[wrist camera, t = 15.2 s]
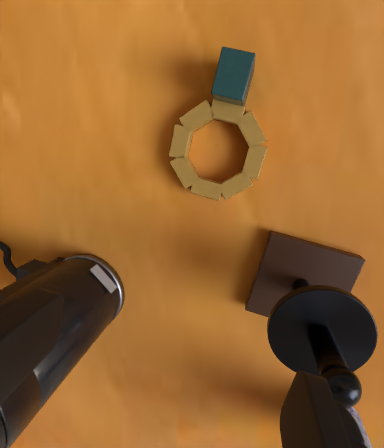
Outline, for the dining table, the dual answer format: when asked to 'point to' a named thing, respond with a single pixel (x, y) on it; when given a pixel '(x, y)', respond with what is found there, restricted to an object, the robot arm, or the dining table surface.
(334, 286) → the peg stand
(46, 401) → the robot arm
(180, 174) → the tan ring-shaped piece
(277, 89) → the dining table surface
